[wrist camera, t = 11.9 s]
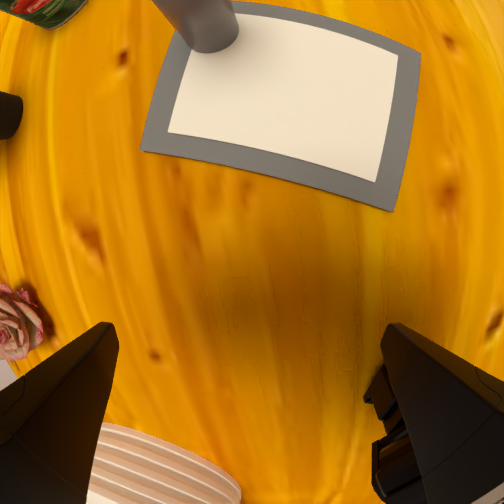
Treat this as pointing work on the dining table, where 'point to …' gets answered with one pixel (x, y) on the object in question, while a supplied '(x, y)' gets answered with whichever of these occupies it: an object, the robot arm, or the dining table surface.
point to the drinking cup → (9, 114)
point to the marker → (202, 22)
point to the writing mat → (292, 103)
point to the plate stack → (154, 472)
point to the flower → (17, 324)
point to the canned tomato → (43, 11)
